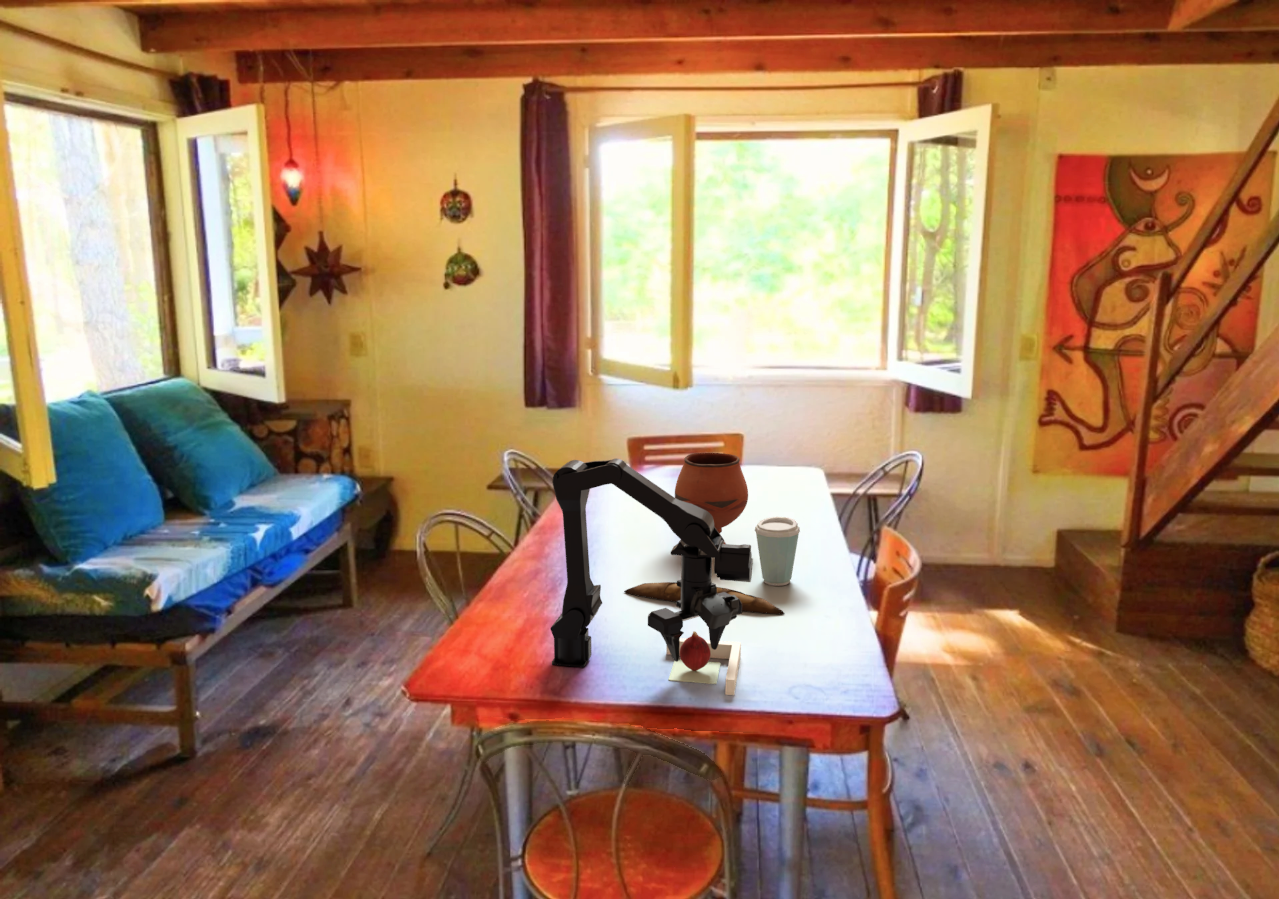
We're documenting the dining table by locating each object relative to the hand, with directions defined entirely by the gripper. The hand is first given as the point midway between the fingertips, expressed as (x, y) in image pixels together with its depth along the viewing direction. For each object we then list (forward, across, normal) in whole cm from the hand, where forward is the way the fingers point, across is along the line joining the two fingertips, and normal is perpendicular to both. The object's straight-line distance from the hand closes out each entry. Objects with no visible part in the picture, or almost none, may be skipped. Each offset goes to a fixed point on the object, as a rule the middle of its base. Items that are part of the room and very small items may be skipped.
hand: (695, 654), depth 181 cm
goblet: (+4, +49, +55) cm, 74 cm away
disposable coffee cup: (+4, +46, +27) cm, 54 cm away
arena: (+4, 0, 0) cm, 4 cm away
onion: (+3, 0, 0) cm, 3 cm away
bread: (+4, +23, +26) cm, 35 cm away
